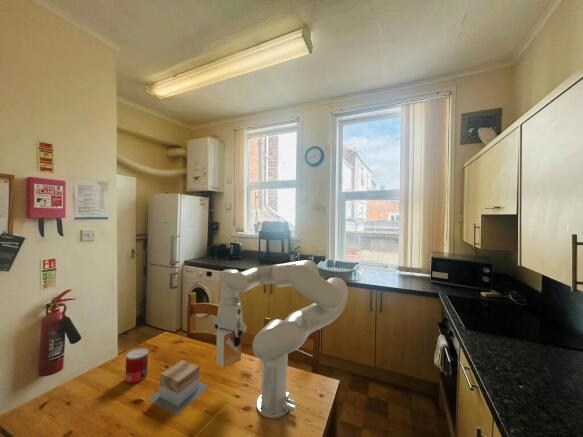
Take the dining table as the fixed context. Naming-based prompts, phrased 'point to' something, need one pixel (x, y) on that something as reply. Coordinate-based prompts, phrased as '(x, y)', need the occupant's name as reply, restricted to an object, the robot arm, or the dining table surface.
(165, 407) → the mat
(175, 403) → the tower base
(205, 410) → the dining table surface
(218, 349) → the small box
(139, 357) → the canned food
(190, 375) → the tower top
